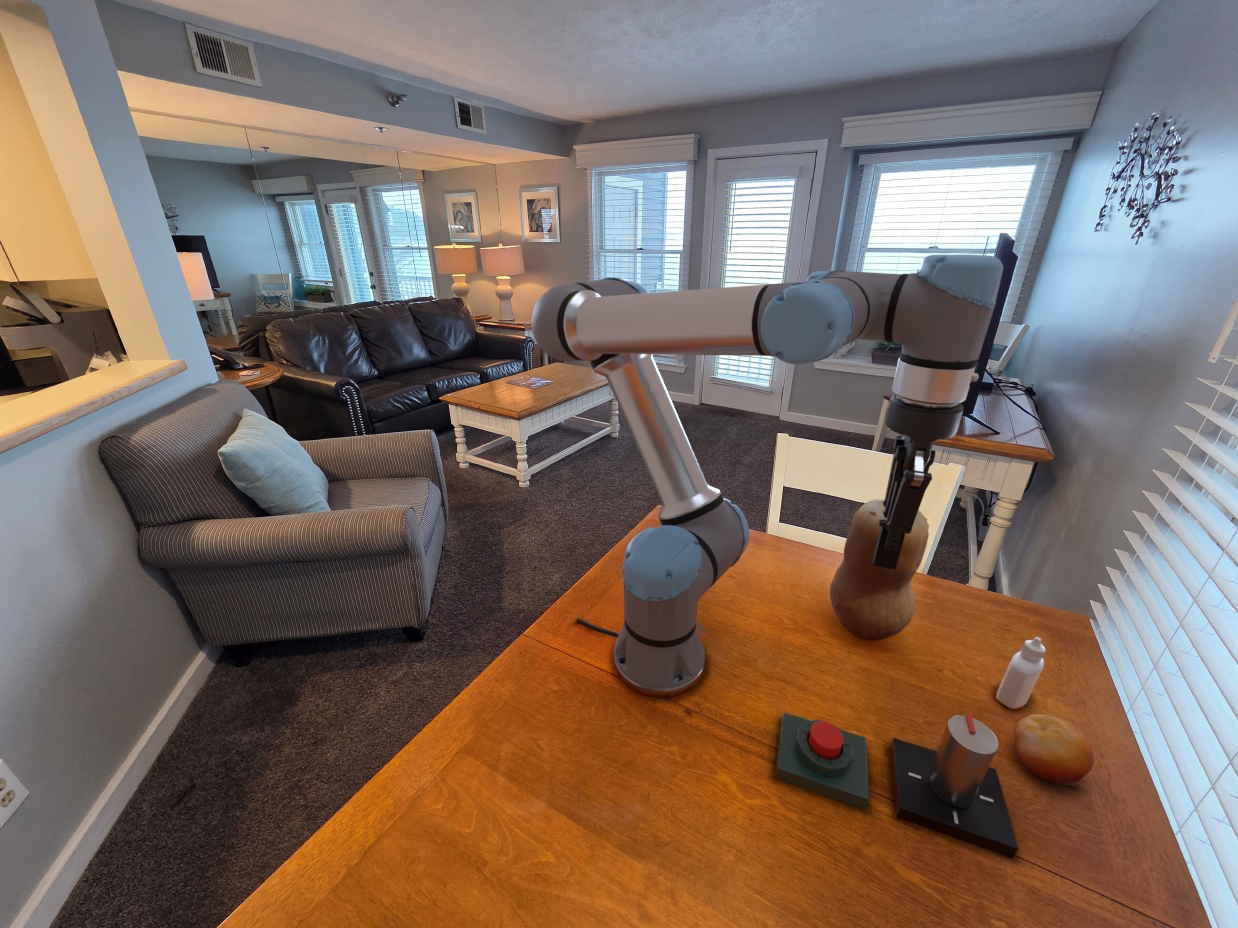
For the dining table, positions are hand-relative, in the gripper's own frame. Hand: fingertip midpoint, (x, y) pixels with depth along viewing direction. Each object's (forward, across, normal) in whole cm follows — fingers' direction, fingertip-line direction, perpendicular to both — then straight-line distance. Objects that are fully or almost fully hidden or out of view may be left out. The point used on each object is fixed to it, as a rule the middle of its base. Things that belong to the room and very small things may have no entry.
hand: (883, 564), depth 68 cm
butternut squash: (+25, +16, -2) cm, 29 cm away
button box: (+24, -14, +4) cm, 28 cm away
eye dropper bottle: (+25, +8, -23) cm, 35 cm away
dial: (+22, -13, -11) cm, 28 cm away
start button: (+21, -14, +4) cm, 25 cm away
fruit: (+25, -3, -24) cm, 35 cm away
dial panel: (+24, -13, -11) cm, 30 cm away
